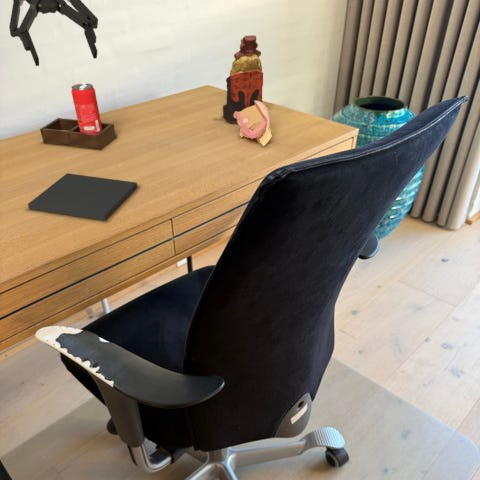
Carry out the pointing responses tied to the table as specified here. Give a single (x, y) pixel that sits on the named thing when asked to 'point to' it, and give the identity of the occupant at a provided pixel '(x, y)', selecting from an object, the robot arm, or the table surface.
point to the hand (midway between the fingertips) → (67, 58)
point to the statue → (244, 79)
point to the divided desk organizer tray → (76, 134)
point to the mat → (84, 196)
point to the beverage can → (86, 108)
